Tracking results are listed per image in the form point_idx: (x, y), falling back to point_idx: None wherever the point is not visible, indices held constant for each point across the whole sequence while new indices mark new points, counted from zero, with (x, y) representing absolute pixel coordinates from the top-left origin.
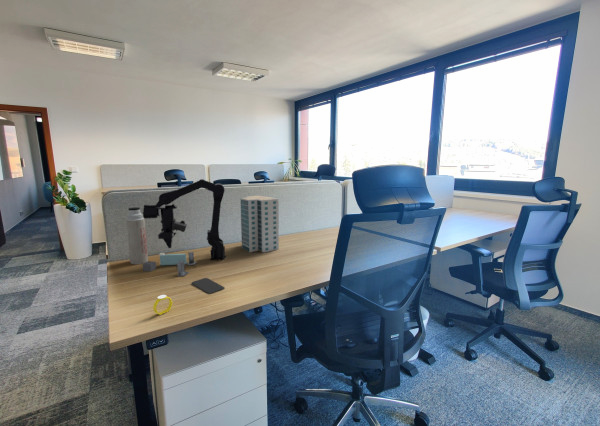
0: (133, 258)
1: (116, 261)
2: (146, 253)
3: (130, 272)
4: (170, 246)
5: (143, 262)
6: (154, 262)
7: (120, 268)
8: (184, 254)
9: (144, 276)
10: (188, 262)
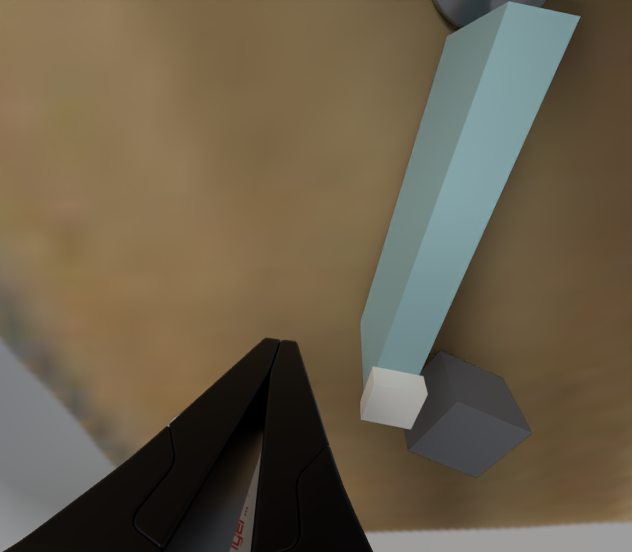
0: None
1: None
2: None
3: (445, 474)
4: (304, 370)
5: None
6: (477, 408)
7: None
8: (566, 41)
9: (602, 409)
10: (452, 2)
